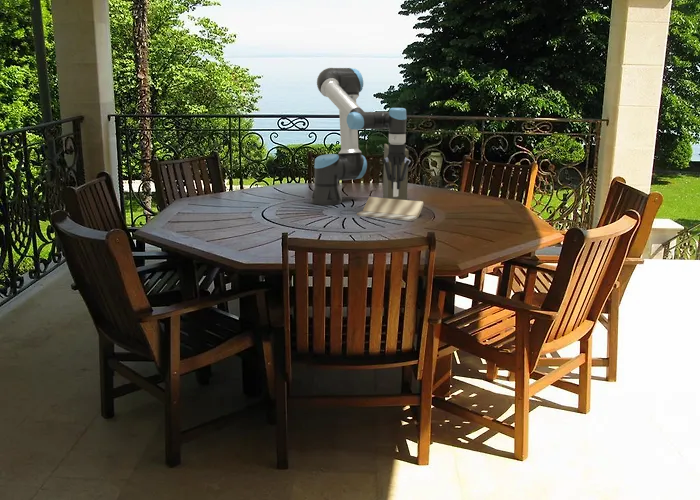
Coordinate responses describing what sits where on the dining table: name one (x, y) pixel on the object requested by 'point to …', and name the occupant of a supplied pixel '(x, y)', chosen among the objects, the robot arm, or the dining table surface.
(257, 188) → the dining table surface
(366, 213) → the laid boards
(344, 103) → the robot arm
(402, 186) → the olive curved-top slab
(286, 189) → the dining table surface
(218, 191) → the dining table surface
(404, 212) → the plank
